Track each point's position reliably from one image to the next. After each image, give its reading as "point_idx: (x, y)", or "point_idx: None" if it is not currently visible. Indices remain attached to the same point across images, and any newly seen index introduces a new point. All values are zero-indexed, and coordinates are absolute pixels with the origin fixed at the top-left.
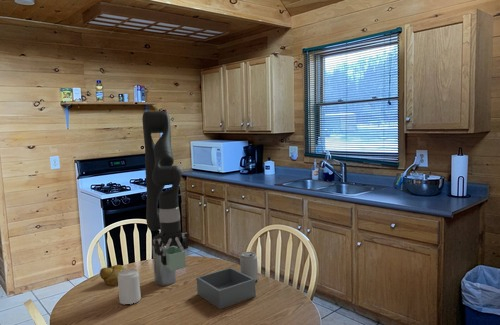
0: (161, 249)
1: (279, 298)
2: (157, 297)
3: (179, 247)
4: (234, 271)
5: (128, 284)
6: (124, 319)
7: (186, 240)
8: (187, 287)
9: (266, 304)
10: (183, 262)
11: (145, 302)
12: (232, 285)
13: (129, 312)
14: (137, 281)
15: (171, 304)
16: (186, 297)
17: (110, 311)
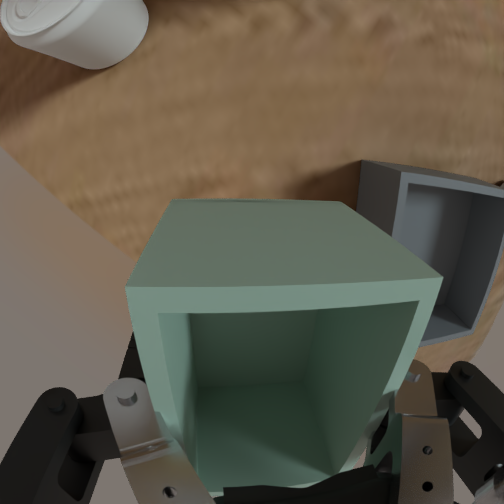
0: (119, 447)
1: (452, 342)
2: (213, 61)
3: (366, 463)
4: (501, 228)
5: (43, 53)
6: (43, 177)
7: (469, 478)
8: (365, 70)
9: (419, 353)
10: (303, 410)
11: (148, 76)
12: (462, 211)
13: (68, 130)
14: (93, 33)
15: (229, 169)
16: (312, 153)
17: (26, 83)
